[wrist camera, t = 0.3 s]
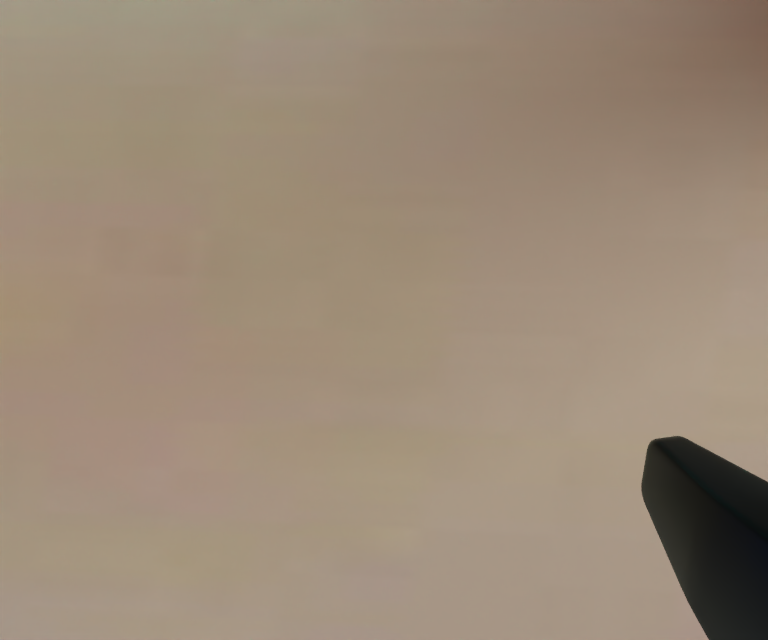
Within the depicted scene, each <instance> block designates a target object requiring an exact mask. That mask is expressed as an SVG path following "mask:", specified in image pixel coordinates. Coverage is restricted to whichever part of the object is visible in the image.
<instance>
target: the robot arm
mask: <svg viewBox="0 0 768 640" xmlns="http://www.w3.org/2000/svg"><path fill="white" fill-rule="evenodd" d="M641 487H642V496H643V499H644V502H645V505H646V507H647V509H648V512H649V514H650V516H651V519H652V521H653V523H654V526H655V528H656V530H657V533H658V535H659V537H660V539H661V542H662V544H663V546H664V549H665V551H666V553H667V556H668V558H669V560H670V563H671V565H672V567H673V569H674V572H675V574H676V576H677V579H678V581H679V583H680V586H681V588H682V590H683V592H684V594H685V596H686V598H687V601H688V603H689V604H690V606H691V608H692V610H693V612H694V614H695V616H696V618H697V619H698V621H699V623H700V625H701V626H702V628H703V630H704V632H705V633H706V635H707V637H708V639H709V640H768V482H767V481H765V480H763V479H761V478H759V477H757V476H755V475H754V474H752V473H750V472H748V471H746V470H744V469H742V468H740V467H739V466H737V465H735V464H733V463H731V462H729V461H727V460H725V459H724V458H722V457H720V456H718V455H716V454H714V453H712V452H710V451H709V450H707V449H705V448H703V447H701V446H699V445H697V444H695V443H694V442H692V441H690V440H688V439H686V438H684V437H681V436H673V437H666V438H659V439H655V440H653V441H651V442H650V444H649V445H648V449H647V454H646V460H645V466H644V472H643V478H642V486H641Z"/></svg>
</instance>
